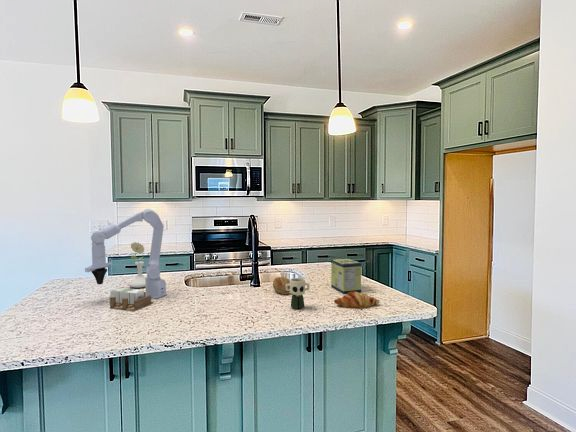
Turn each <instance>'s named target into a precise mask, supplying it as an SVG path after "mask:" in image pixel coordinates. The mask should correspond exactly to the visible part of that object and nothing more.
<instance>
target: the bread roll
mask: <svg viewBox="0 0 576 432" xmlns="http://www.w3.org/2000/svg"><path fill="white" fill-rule="evenodd" d="M286 284H290V278H288V277H286V276H277V277H275V278H274V279H273V281H272V287H273V289H274V290H275V291H276V292H277V293H278V294H282V295H289V294H291V293H290V291H286ZM288 289H290V286H288Z"/></svg>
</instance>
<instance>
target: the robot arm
mask: <svg viewBox="0 0 576 432" xmlns="http://www.w3.org/2000/svg"><path fill="white" fill-rule="evenodd" d="M143 221H145V222H146V223H147V224H149V225H150V226H151V227H152V228H153V230H152V231H153V232H152V237H151V245H150V251H149V252H150V253H149V259H148V263H147V265H146V267H145V273H146V276H145V277H146V278H145V280H146V287H145V292H146V296H149V295H151V299H158V298H161V297H164V296H166V295H167V294H168V293H167V283H166V280H165V279H163V278H161V276H160V275H161V271H160V258H161V257H160V256H161V248H162V244H163V243H162V241H163V235H164V223H163V221H162V220H161V218H160V216H159V214H158V213H157V212H156V211H154V210H153V209H150V208H147V209H144V210H141V211H139V212H136V213H134V214H133V215H130V216H129V217H127V218H125V219H124V220H121V221H120V222H112V223H111V222H108V223H107V225H106V226H104V227H102V228H100V227H99V228H98V230H95V231H94V232H93V233H92V234H91V237H90V239H91V259H92V262H91V265H90V266H87V267H85V268H84V272H85V273H91V274H92V275H93V277H94V278H95V281H96V284H97V285H102V284H103V283H104V278H105V276H106V274H107V272H108V268H111V267H113V262H106V261H107V260H106V246H105V240H108V239H111V238H112V237H114V236H116V235H118V234H120V233H121V230H122V229H124V228H126V227H127V226H128V227H129V226H130V225H133V224H134V223H136V222H143Z"/></svg>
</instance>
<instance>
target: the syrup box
mask: <svg viewBox="0 0 576 432" xmlns="http://www.w3.org/2000/svg"><path fill="white" fill-rule="evenodd" d="M144 292H145V290H144V289H138V288H125V287H116V288H114V289H111V290H110V293H109V295H110V297H116V304H117V303H122V299H123V298H128V305H130V304H134V301H136V300H138V299H141V298H143V297H144ZM110 297H109V298H110Z"/></svg>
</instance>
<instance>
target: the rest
mask: <svg viewBox="0 0 576 432" xmlns="http://www.w3.org/2000/svg"><path fill="white" fill-rule="evenodd" d="M152 304H154V301H152V298H151V295H149V296H146V291H144V297H143V298H141V299H138V300H136V301H134V304H128V298H123V299H122V303H116V297H109V308H110V309H113V310H121V311H131V312H136V311H138V310H140V309H142V308H145V307H147V306H150V305H152Z"/></svg>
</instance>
